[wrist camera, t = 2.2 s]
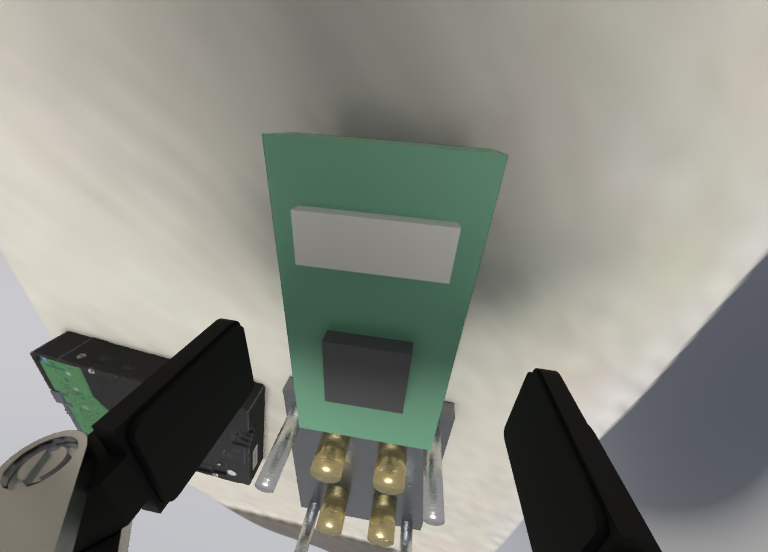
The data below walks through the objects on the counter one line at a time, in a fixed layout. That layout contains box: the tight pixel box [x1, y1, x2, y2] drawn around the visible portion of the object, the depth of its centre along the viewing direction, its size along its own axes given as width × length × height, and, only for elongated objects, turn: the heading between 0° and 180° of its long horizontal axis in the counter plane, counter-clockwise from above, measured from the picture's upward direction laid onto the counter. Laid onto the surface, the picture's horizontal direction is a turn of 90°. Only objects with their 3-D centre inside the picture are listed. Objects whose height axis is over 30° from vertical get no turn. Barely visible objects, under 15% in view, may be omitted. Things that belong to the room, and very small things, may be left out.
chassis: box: [255, 377, 455, 552], centre depth 20 cm, size 16×11×6 cm
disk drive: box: [30, 331, 265, 485], centre depth 21 cm, size 10×3×15 cm
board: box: [262, 133, 508, 450], centre depth 10 cm, size 12×6×3 cm, turn 176°
